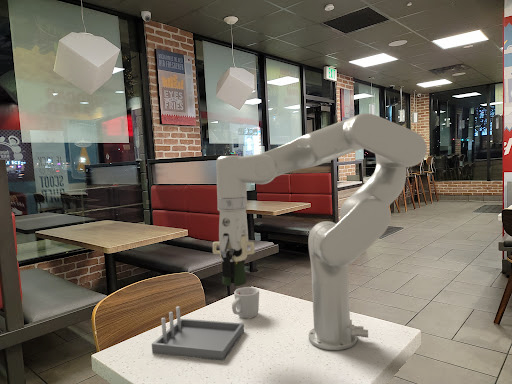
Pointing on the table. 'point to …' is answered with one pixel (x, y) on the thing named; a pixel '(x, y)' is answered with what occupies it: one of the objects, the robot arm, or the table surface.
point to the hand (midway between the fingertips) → (234, 272)
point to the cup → (246, 302)
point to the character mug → (237, 261)
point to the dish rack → (197, 338)
